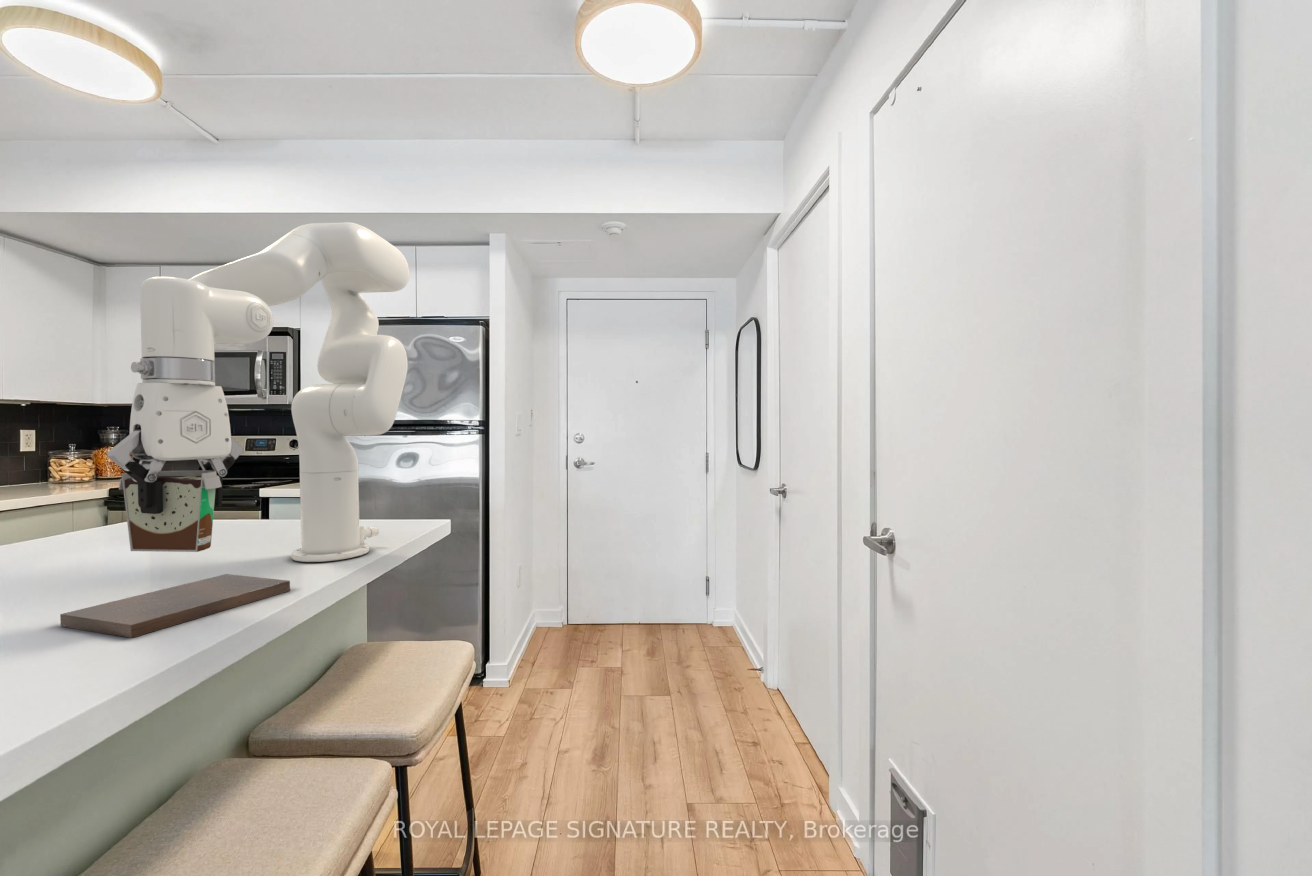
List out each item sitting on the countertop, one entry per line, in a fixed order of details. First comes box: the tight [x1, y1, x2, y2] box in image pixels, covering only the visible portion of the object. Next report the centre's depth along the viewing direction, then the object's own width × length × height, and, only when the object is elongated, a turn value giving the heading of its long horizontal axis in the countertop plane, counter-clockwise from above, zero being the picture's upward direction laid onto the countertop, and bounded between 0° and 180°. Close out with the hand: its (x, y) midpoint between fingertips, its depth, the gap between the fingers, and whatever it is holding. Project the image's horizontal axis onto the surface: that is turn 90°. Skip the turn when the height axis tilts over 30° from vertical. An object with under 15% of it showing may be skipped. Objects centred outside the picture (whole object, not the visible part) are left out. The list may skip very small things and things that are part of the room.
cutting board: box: [59, 573, 291, 638], centre depth 79 cm, size 20×13×2 cm, turn 161°
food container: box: [118, 469, 223, 553], centre depth 79 cm, size 12×6×10 cm, turn 84°
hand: (182, 508), depth 79 cm, fingers closed on food container, 6 cm apart
